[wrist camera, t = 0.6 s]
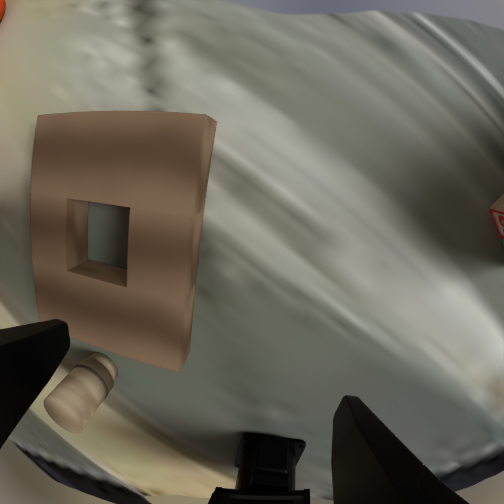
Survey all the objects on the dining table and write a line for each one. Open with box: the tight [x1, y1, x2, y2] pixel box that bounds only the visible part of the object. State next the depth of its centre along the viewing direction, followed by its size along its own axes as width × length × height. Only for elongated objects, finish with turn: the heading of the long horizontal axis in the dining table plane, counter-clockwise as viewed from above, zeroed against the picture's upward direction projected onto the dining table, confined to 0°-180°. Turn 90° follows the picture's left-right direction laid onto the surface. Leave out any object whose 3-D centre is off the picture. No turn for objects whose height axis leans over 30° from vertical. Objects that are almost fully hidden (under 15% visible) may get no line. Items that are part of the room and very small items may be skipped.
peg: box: [44, 352, 118, 433], centre depth 22 cm, size 4×4×8 cm
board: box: [30, 111, 217, 372], centre depth 21 cm, size 18×14×3 cm
